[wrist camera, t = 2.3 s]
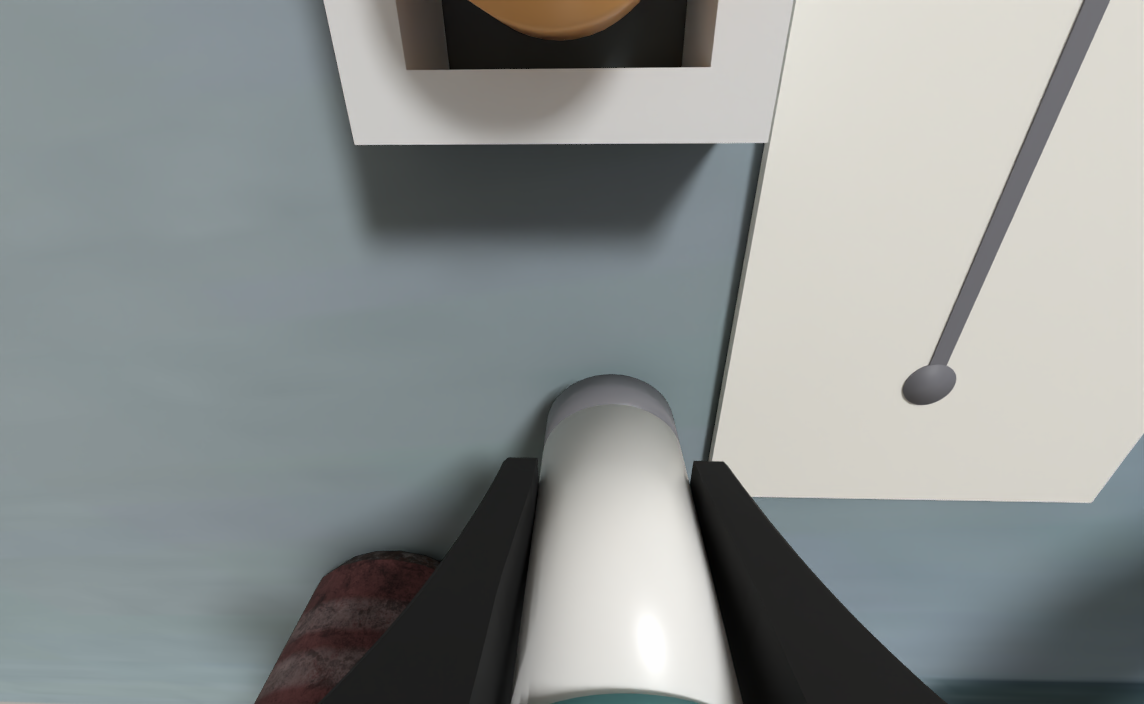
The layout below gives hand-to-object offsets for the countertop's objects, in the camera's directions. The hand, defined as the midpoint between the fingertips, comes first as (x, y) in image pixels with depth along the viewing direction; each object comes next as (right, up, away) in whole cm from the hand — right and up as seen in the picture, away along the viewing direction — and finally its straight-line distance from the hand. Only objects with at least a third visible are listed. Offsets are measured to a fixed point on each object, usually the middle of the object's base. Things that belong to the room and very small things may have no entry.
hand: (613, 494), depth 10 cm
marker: (0, +1, +2) cm, 2 cm away
